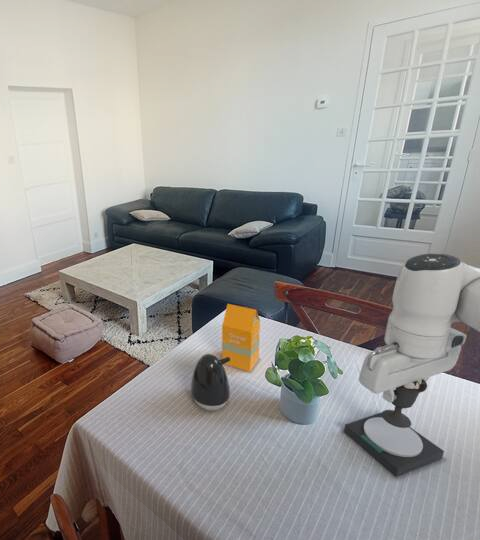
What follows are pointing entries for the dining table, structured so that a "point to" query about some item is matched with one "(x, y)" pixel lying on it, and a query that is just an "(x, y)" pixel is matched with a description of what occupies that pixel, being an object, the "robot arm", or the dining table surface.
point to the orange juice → (241, 336)
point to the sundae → (404, 403)
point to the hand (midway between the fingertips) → (401, 395)
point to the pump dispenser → (210, 383)
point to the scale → (393, 444)
